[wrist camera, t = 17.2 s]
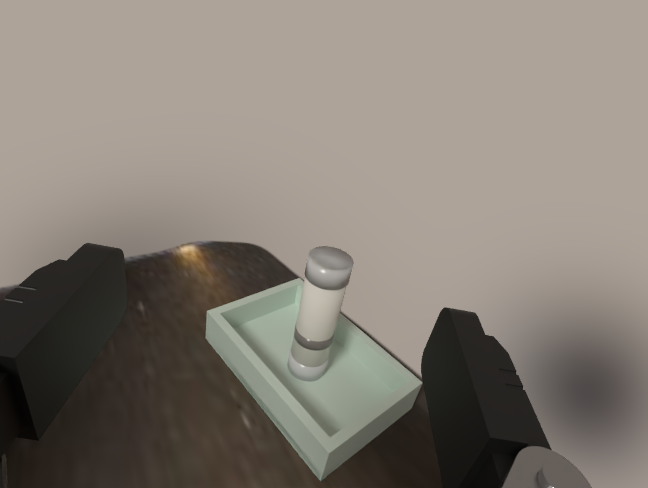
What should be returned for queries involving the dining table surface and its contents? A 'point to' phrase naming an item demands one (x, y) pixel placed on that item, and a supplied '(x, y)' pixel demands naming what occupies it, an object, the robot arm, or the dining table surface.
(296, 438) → the parts tray
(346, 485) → the dining table surface
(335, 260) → the fuse
